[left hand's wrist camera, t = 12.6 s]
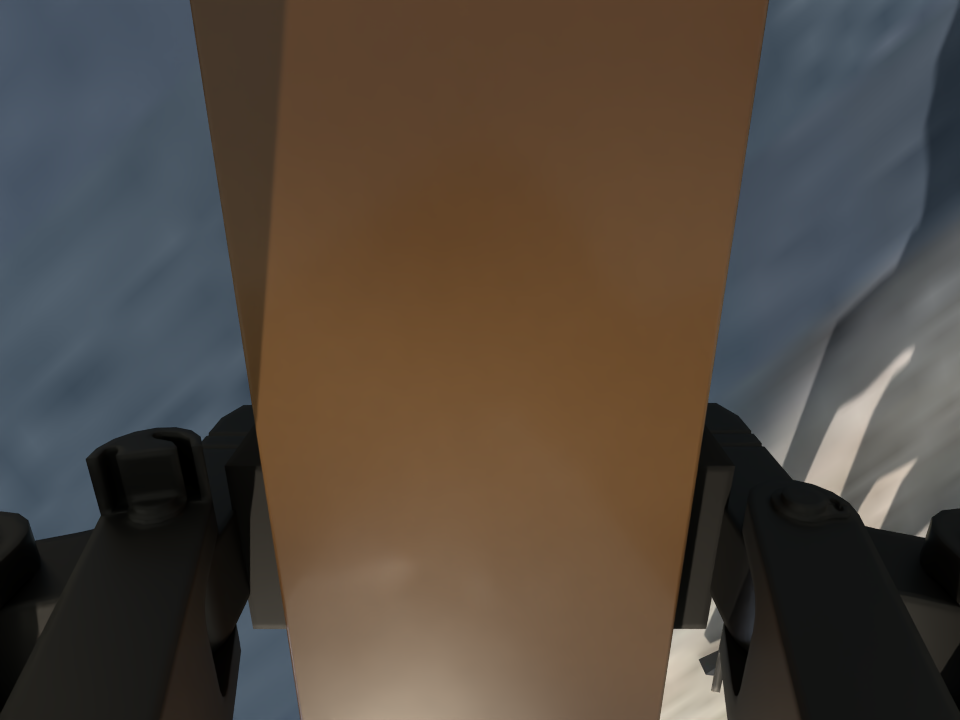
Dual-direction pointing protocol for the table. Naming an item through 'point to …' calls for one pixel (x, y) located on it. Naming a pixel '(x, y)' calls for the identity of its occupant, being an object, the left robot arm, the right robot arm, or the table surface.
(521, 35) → the bar
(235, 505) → the left robot arm
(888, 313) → the table surface
